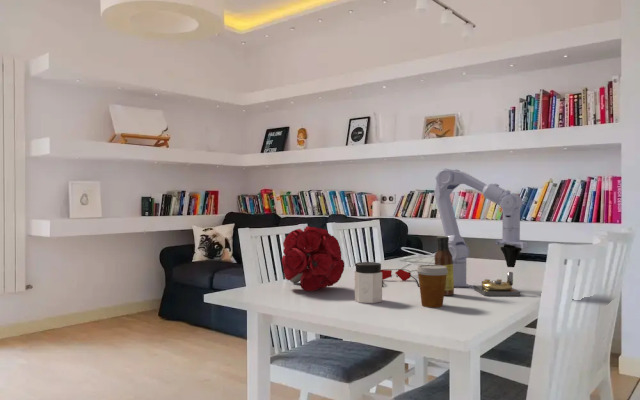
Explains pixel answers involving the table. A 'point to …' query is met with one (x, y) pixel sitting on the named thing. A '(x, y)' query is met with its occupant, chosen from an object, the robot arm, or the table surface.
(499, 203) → the robot arm
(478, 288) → the base plate
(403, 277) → the glasses
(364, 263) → the jar
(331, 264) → the bouquet
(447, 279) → the sauce bottle
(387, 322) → the table surface
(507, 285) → the gold round piece
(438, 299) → the disposable coffee cup
